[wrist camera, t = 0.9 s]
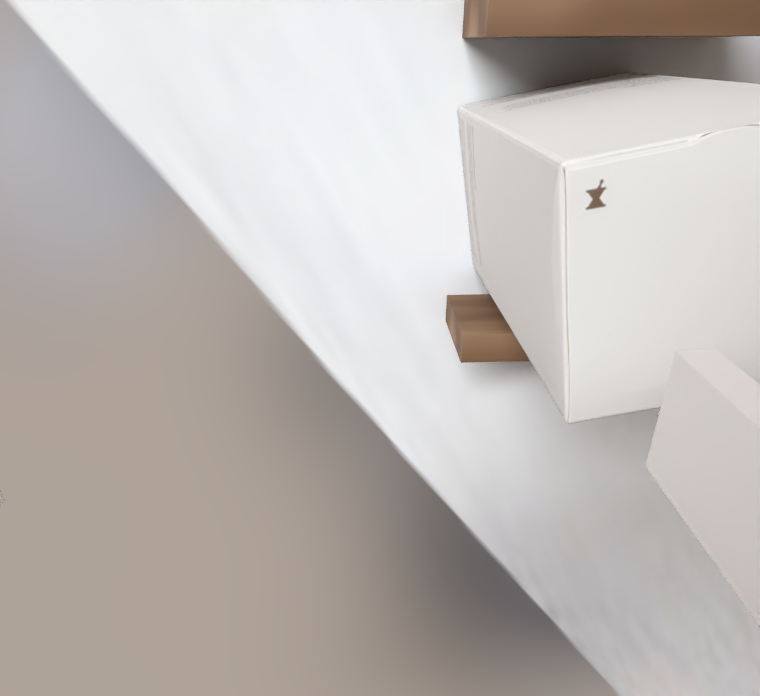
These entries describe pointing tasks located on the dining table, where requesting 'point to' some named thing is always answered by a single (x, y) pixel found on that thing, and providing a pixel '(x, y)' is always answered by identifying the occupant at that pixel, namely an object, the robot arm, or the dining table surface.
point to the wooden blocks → (564, 20)
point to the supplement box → (618, 230)
